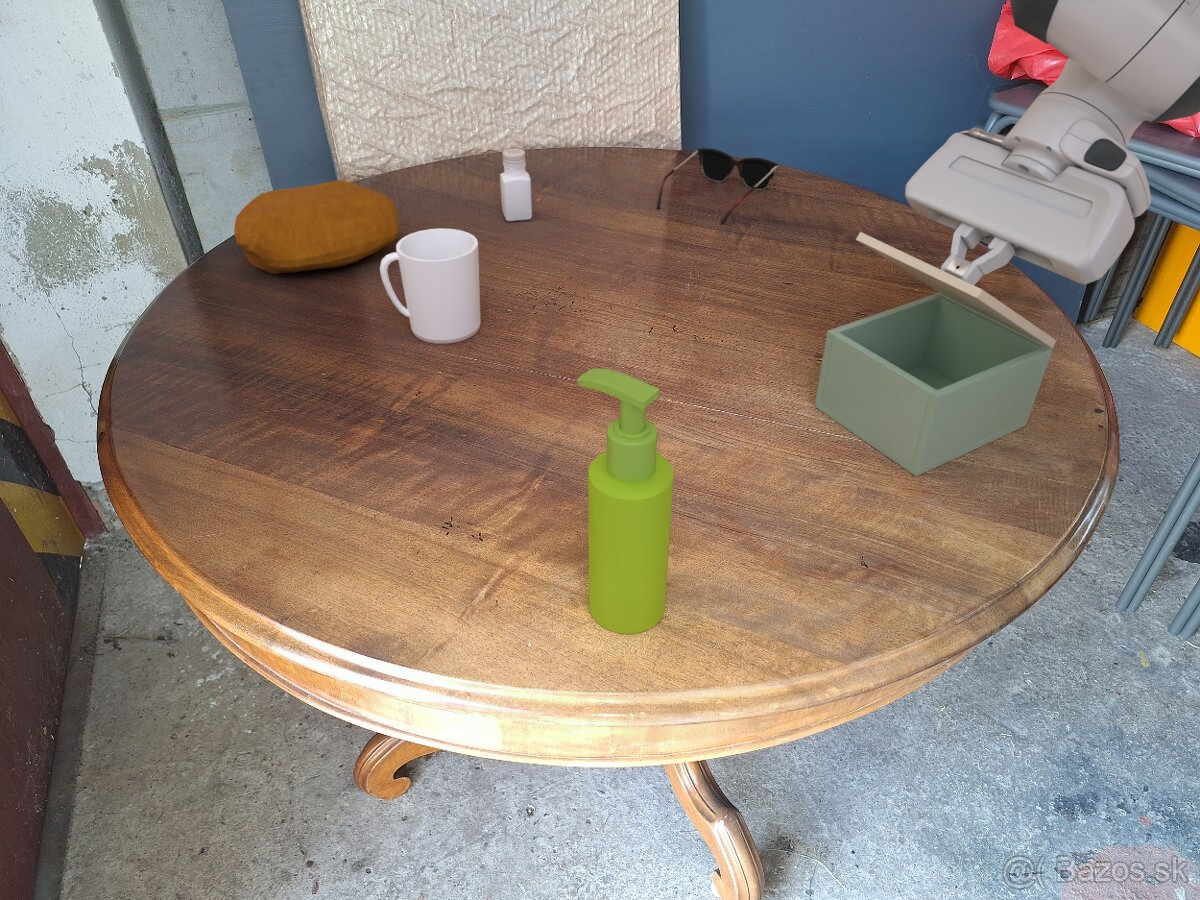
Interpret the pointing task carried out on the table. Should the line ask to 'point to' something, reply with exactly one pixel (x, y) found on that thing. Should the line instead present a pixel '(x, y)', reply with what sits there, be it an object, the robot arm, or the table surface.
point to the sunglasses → (721, 166)
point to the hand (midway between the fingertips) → (954, 280)
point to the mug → (438, 284)
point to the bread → (315, 226)
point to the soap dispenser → (628, 511)
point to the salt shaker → (515, 186)
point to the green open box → (929, 380)
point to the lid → (957, 289)
